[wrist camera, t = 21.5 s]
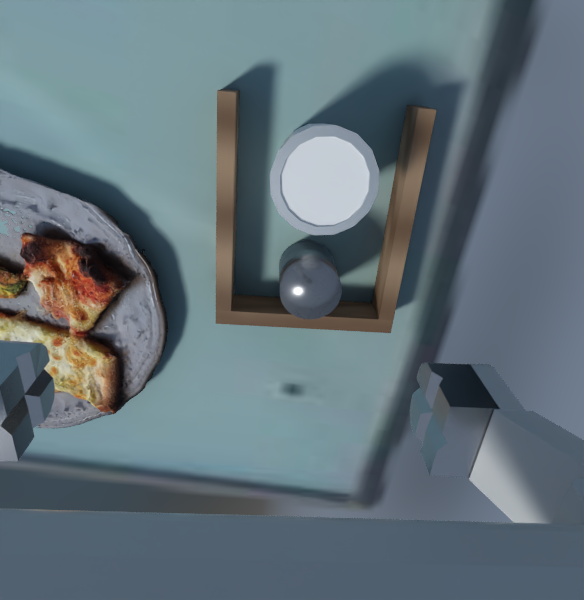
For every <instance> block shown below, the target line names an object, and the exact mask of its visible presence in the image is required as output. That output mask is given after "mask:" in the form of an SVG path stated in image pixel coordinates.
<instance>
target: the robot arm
mask: <svg viewBox="0 0 584 600" xmlns="http://www.w3.org/2000/svg"><path fill="white" fill-rule="evenodd" d="M49 361H50V359H49V355H48V350H47V347H46V346H45V345H43V344H42V343H34V342H20V341H6V340H0V461H19V459H20V458H21V456H22V455H23V453H24V452H25V450H26V449H27V447H28V446H29V444H30V443H31V441H32V440H33V438H34V433H33V428H34V427H36V426H37V425H39V424H41V423H42V422H44V421H45V420H46V418H47V416H48V415H49V413H50V412H51V408H52V405H53V401H54V395H55V386H54V380H53V377H52V376H51V375H50V374H49V373H48V372H47V371H46V370H45V369H44V368H45V367H46V365H47V364H48V362H49ZM417 380H418V382H419V384H420V388H419V389H418V390H417V391H416V392H415V393H414V394H413V396H412V400H411V405H410V421H411V426H412V430H413V433H414V435H415V437H417V438H418V439H419V440H420V441H422V442H423V444H422V448H421V454H422V456H423V459H424V462H425V464H426V467H427V469H428V472H429V475H434V476H450V477H466V478H470V479H469V480H470V481H471V482H472V483H473V484H474V485H475V486H476V487H477V488H479V489H480V490H481V491H482V492H483V493H484V494H485V495H486V496H487V497H488V498H489V499H490V500H491V501H492V502H493V503H494V504H495V505H496V506H497V507H498V508H499V509H500V510H502V511H503V512H504V513H505V514H506V515H507V516H508V517H509V518H510V519H511V520H512V521H513V522H514V523H510V522H467V521H466V522H465V521H431V520H398V519H396V520H394V519H363V518H328V517H327V518H326V517H292V516H291V517H290V516H257V515H218V514H217V515H216V514H178V513H142V512H103V511H69V510H34V509H0V600H584V440H582V439H581V438H579V437H577V436H575V435H574V434H572V433H570V432H568V431H567V430H565V429H563V428H562V427H560V426H558V425H556V424H555V423H553V422H551V421H549V420H548V419H546V418H544V417H542V416H541V415H539V414H537V413H535V412H534V411H526V410H525V409H524V407H523V406H522V405H521V403H520V402H519V401H518V399H517V398H516V397H515V395H514V394H513V393H512V391H511V390H510V388H509V387H508V386H507V384H506V383H505V382H504V380H503V379H502V378H501V376H500V375H499V374H498V372H497V371H496V369H495V368H494V367H493V366H491V365H489V364H442V363H422V365H421V367H420V368H419V372H418V375H417Z"/></svg>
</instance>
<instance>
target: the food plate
mask: <svg viewBox="0 0 584 600" xmlns="http://www.w3.org/2000/svg"><path fill="white" fill-rule="evenodd" d="M84 200H85V199H84ZM87 202H88V203H87ZM87 202H86V200H85V202H84V201H82V200H80V199H79V198H76V197H74V196H72V195H69V194H64V193H62V192H61V191H57V190H55V189H52V188H51V187H48V186H45V185H42V184H40V183H38V182H36V181H32V180H31V179H25V178H22V177H19V176H16V175H12V174H11V173H9V172H6V171H4V170H3V169H1V168H0V219H2V220H0V221H3V220H4V221H6V220H8V223H9V224H10V225H9V224H8V223H6V224H4V225H6V226H7V228H8V231H7V232H8V234H9V236H7V235H6V234H1V233H0V340H6V341H20V342H34V343H42V344H43V345H45V346H46V347H47V350H48V355H49V359H50V361H49V362H48V364H47V365H46V367H45V368H44V369H45V370H46V371H47V372H48V373H49V374H50V375H51V376H52V377H53V380H54V386H55V395H54V401H53V405H52V408H51V412H50V413H49V415H48V416H47V418H46V420H45V421H44V422H42V423H41V424H39V426H40V427H39V428H65V427H70V426H74V425H78V424H79V425H80V424H82V423H85V422H87V421H90V420H92V419H95V418H99V417H101V416H105V415H110V414H114V413H116V412H117V411H118V410H120V409H121V407H123V406H124V404H125V403H126V402H128V401H129V400H130V399H131V398H133V397H134V396H136V395H137V394H138V393H140V392H141V391H142V390H143V389H144V388H145V385H146V383H147V381H149V380H150V378H151V376H152V375H153V371H154V370H155V368H156V366H157V365H158V363H159V361H160V358H161V357H162V353H163V351H164V348H165V344H166V341H167V340H166V338H167V337H166V336H167V332H168V330H167V329H168V325H167V324H168V323H167V320H166V319H167V317H166V312H165V309H164V305H162V304H163V302H162V300H161V294H160V291H159V288H158V286H159V285H158V280H157V279H158V278H157V275H156V272H155V270H154V269H153V267H152V266H151V262H150V261H149V260H148V259H147V258H146V256H145V255H144V254H143V250H144V249H142V252H141V254H140V253H139V252H138V251H137V250H138V248H137V246H136V244H135V243H136V242H135V241H134V240H133V239H132V237H131V236H130V235H128V234H126V233H123V232H122V231H121V230H120V229H119V228H118V227H117V225H118V222H117V221H116V220H115V218H113V217H112V216H111V215H109V214H108V213H106V212H105V211H103V210H102V209H101V208H98V207H97V206H95V205H94V204H91V203H90V202H89V201H87ZM89 203H90V204H89ZM35 205H37V206H35ZM4 208H8V209H10V210H13V211H15V212H16V214H14V215H13V214H11V213H10V212H9V211H3V209H4ZM20 211H22V212H20ZM4 214H8V215H10V216H5V215H4ZM22 216H24V218H22ZM28 217H30V219H29V218H28ZM12 219H15V221H16V222H17V224H16V223H15V222H14V221H13V220H12ZM22 222H23V223H22ZM43 222H47V223H49V224H47V223H46V224H44V223H43ZM30 224H31V225H32V226H33V227H34V228H30V227H29V225H30ZM17 226H19V228H20V232H17V231H15V230H14V227H17ZM25 228H26V229H27V230H24V229H25ZM14 236H16V237H14ZM144 251H145V250H144ZM29 306H30V307H29Z"/></svg>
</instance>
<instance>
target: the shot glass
mask: <svg viewBox="0 0 584 600" xmlns="http://www.w3.org/2000/svg"><path fill="white" fill-rule="evenodd" d="M378 185H379V168H378V165H377V162H376V159H375V156H374V154H373V151H372V149H371V148H370V147H369V146H368V145H367V144H366V143H365V142H364V140H363V139H362V138H361V137H360V136H359V135H358V134H357V133H354V132H352V131H350V130H347V129H345V128H342V127H340V126H338V125H332V124H324V123H320V124H307V125H305V126H303V127H301V128H298V129H296V130H294V132H293V133H292V134H291V135H290V136H289V137H288V138H287V139H286V140H285V142H284V143H283V145H282V146H281V148H280V149H279V151H278V153H277V156H276V158H275V161H274V164H273V167H272V169H271V172H270V187H271V197H272V199H273V201H274V203H275V205H276V208H277V210H278V212H279V214H280V215H281V216H282V217H283V218H284V219H285V220H286V221H287V222H288V223H290V224H291V225H292V226H293V227H294V228H295V229H298V230H301V231H304V232H306V233H309V234H312V235H335V234H337V233H339V232H342V231H344V230H346V229H349V228H351V227H354V226H355V225H356V224H357V223H358V222H359V221H360V220H361V219H362V218H363V217H364V216H365V215H366V214H367V213H368V212H369V210H370V208H371V206H372V204H373V202H374V200H375V198H376V195H377V193H378Z"/></svg>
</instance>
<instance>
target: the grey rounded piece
mask: <svg viewBox="0 0 584 600" xmlns="http://www.w3.org/2000/svg"><path fill="white" fill-rule="evenodd" d="M279 279H280V298H281V302H282V304H283V306H284V307H285V308H286V310H287V311H288V312H290V313H291V314H292V315H294V316H296V317H299V318H302V319H318V318H321V317H324V316H326V315H327V314H329V313H330V312H332V311H333V310H334V309H335V308H336V306H337V305H338V303H339V301H340V298H341V294H342V287H341V283H340V279H339V276H338V273H337V269H336V266H335V263H334V259H333V257H332V254H331V253H330V251H329V250H328V249H327V248H326V247H325V246H324V245H323V244H321V243H319V242H316V241H311V240H304V241H299V242H296V243H294V244H292V245H291V246H289V247H288V248H287V249H286V250H285V251H284V253H283V254H282V256H281V259H280V263H279Z"/></svg>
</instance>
